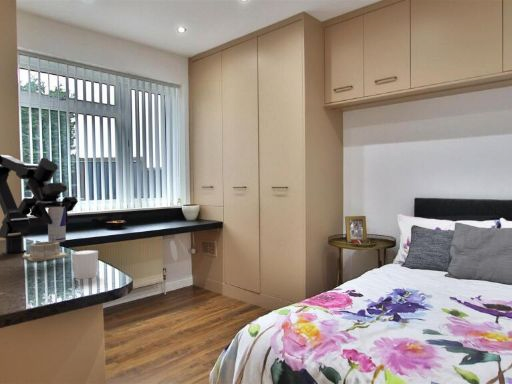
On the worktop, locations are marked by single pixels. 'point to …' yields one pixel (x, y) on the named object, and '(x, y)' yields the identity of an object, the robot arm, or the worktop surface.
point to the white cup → (85, 264)
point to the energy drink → (57, 224)
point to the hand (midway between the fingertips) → (59, 222)
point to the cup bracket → (44, 251)
